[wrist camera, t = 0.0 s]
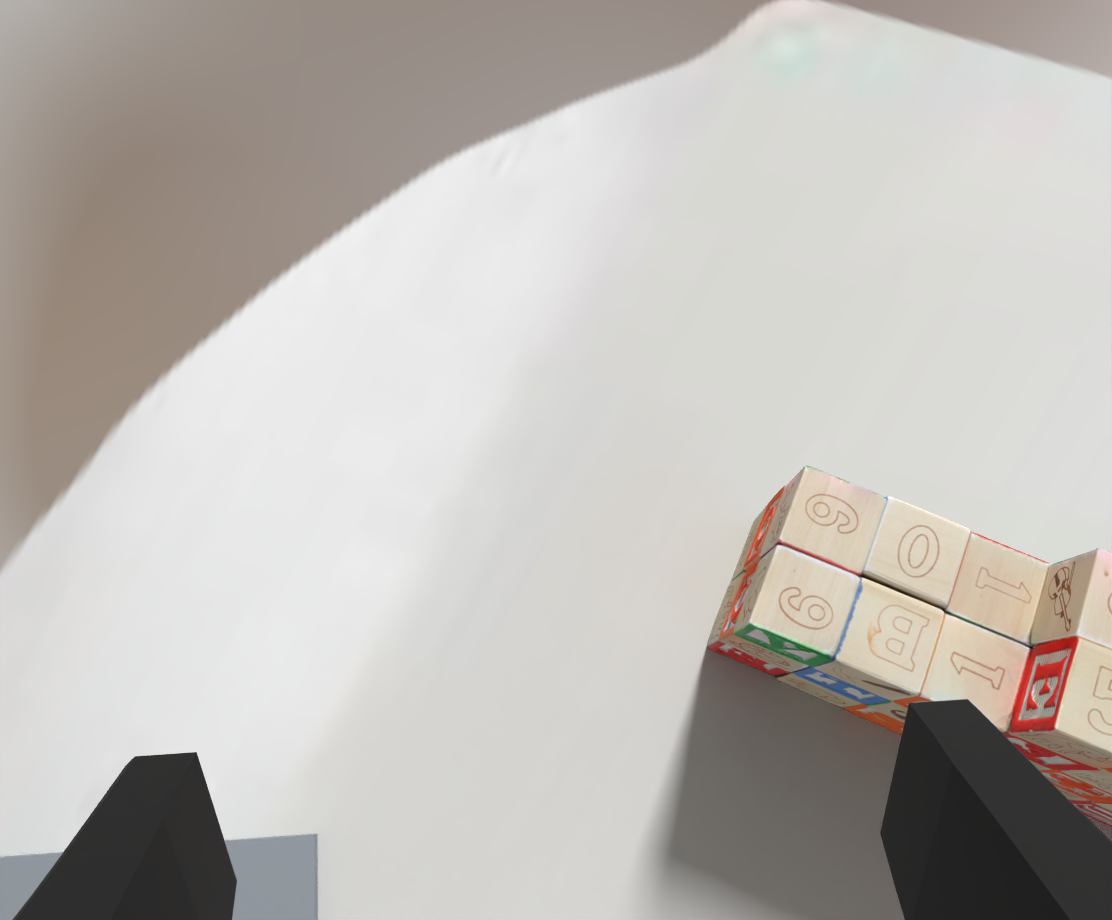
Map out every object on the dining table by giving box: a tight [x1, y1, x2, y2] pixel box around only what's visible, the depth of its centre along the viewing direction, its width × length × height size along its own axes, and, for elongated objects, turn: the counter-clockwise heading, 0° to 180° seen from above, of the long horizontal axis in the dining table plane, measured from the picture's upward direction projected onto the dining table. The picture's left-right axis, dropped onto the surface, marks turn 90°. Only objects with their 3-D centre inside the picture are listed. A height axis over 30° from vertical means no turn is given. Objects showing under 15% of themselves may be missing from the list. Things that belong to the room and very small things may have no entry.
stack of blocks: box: [708, 466, 1112, 826], centre depth 37 cm, size 21×6×12 cm, turn 67°
